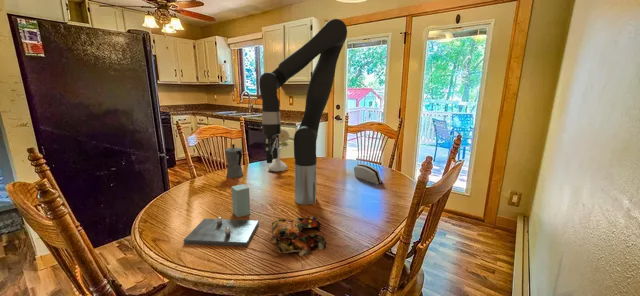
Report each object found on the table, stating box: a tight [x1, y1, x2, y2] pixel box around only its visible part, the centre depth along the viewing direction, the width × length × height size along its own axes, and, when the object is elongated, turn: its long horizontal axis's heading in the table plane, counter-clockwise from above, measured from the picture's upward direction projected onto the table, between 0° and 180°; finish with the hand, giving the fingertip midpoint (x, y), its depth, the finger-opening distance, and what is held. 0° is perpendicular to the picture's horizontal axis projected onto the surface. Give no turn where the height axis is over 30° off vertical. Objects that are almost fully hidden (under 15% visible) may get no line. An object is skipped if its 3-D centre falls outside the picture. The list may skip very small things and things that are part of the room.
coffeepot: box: [224, 143, 244, 179], centre depth 146 cm, size 15×9×18 cm, turn 43°
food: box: [269, 215, 327, 256], centre depth 89 cm, size 22×19×4 cm
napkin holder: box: [353, 163, 384, 185], centre depth 145 cm, size 17×5×10 cm, turn 38°
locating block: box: [231, 183, 251, 218], centre depth 103 cm, size 5×5×11 cm
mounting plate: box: [183, 216, 260, 248], centre depth 90 cm, size 20×14×4 cm
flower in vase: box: [268, 128, 290, 172], centre depth 157 cm, size 13×11×25 cm
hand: (272, 160), depth 113 cm, fingers open, 8 cm apart
